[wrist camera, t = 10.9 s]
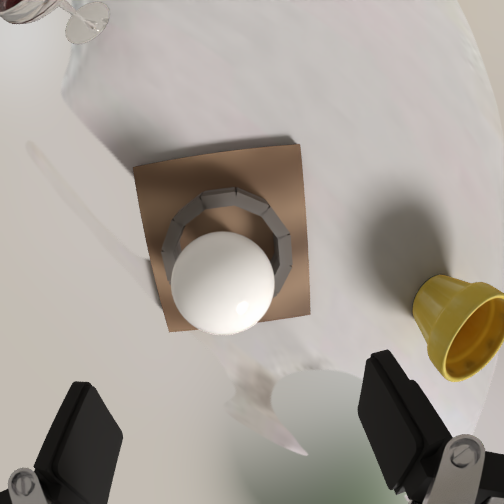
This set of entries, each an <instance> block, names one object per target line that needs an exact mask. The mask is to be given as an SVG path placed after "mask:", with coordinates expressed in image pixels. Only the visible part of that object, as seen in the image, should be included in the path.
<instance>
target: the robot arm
mask: <svg viewBox="0 0 504 504" xmlns="http://www.w3.org/2000/svg"><path fill="white" fill-rule="evenodd" d="M358 416H359V418H360V421H361V423H362V425H363V428H364V430H365V432H366V435H367V437H368V440H369V442H370V444H371V447H372V449H373V451H374V454H375V456H376V459H377V461H378V464H379V466H380V469H381V471H382V474H383V476H384V479H385V481H386V484H387V486H388V488H389V489H390V490H393V489H394V491H395V493H396V495H397V494H400V493H402V492H405V491H406V493H407V496H408V498H409V499H410V501H409V503H408V504H504V454H498V453H492V452H487V451H485V448H484V445H483V444H482V442H481V441H480V440H479V439H478V438H476V437H475V436H472V435H469V434H462V435H458V436H456V437H454V438H453V437H452V436H451V434H450V433H449V431H448V429H447V428H446V426H445V425H444V423H443V421H442V420H441V418H440V417H439V415H438V414H437V412H436V411H435V409H434V407H433V406H432V404H431V403H430V401H429V400H428V398H427V397H426V395H425V394H424V392H423V391H422V389H421V388H420V386H419V385H418V384H417V383H416V381H414V380H409V378H408V377H407V375H406V374H405V372H404V371H403V369H402V368H401V366H400V365H399V363H398V362H397V361H396V359H395V358H394V356H393V355H392V353H391V352H390V351H389V350H384V351H380V352H376V353H372V354H371V357H370V358H369V359H367V360H366V365H365V372H364V378H363V383H362V389H361V395H360V400H359V405H358ZM122 440H123V434H122V431H121V429H120V428H119V426H118V425H117V423H116V422H115V420H114V419H113V417H112V415H111V414H110V412H109V410H108V409H107V407H106V405H105V404H104V402H103V400H102V399H101V397H100V395H99V394H98V392H97V390H96V388H95V387H93V386H92V385H91V384H90V383H89V382H77V381H76V382H73V383H72V385H71V387H70V389H69V391H68V393H67V395H66V397H65V399H64V401H63V403H62V405H61V407H60V409H59V411H58V413H57V415H56V417H55V419H54V421H53V423H52V425H51V428H50V430H49V432H48V434H47V436H46V439H45V441H44V443H43V445H42V448H41V450H40V452H39V455H38V457H37V459H36V462H35V464H34V468H35V471H34V472H33V471H32V470H31V469H28V468H20V469H17V470H16V471H14V472H13V473H12V474H11V476H10V478H9V481H8V489H7V490H4V491H2V492H0V504H107V502H108V497H109V492H110V488H111V484H112V480H113V476H114V471H115V468H116V463H117V459H118V456H119V452H120V447H121V444H122Z"/></svg>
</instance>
